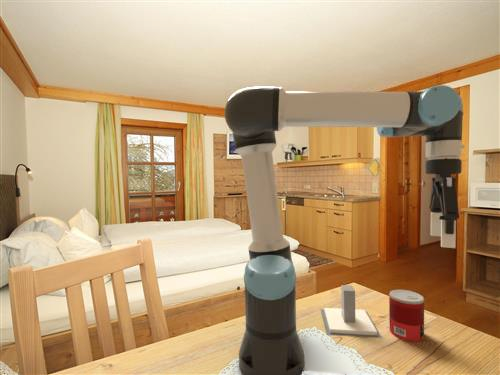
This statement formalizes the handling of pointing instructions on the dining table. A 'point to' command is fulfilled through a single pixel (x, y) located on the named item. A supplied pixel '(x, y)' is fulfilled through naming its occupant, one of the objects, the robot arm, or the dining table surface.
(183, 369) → the dining table surface
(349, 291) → the lid
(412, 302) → the canned food
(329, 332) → the mat
